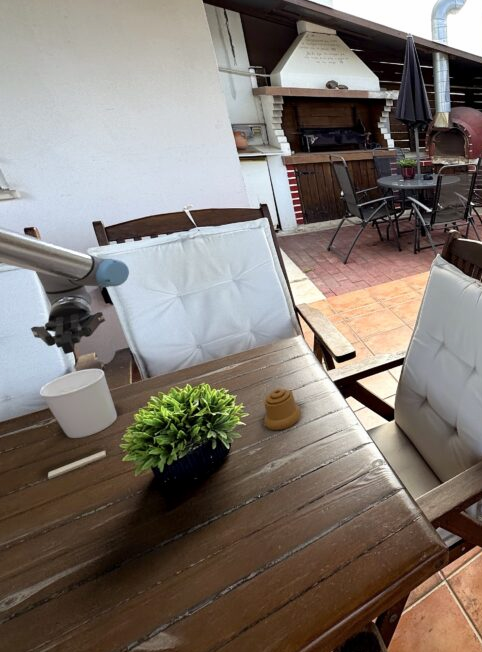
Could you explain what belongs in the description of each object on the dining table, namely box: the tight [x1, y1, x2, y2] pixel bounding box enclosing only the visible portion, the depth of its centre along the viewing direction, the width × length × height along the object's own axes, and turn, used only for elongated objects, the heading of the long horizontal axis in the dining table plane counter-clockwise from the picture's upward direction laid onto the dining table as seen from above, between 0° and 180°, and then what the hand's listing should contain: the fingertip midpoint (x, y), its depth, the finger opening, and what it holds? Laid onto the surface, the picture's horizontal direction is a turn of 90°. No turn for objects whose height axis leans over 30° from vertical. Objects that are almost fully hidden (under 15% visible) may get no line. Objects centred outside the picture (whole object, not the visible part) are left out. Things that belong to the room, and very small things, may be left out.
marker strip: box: [47, 450, 107, 480], centre depth 80 cm, size 8×2×1 cm, turn 135°
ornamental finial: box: [263, 388, 302, 431], centre depth 91 cm, size 8×8×8 cm
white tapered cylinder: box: [38, 368, 118, 439], centre depth 89 cm, size 10×10×12 cm
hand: (67, 347), depth 92 cm, fingers closed
